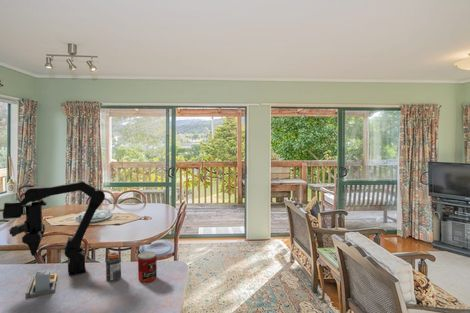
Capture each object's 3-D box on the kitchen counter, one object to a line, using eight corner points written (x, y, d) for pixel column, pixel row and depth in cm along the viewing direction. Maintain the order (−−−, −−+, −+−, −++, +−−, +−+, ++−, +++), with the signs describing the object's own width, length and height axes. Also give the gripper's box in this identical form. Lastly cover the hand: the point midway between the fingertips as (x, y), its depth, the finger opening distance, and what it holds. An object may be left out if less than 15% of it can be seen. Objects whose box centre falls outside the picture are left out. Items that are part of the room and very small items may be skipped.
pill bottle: (106, 277, 127) (105, 252, 127) (120, 275, 130) (120, 250, 129) (106, 283, 122) (105, 257, 121) (121, 280, 124) (120, 254, 124)
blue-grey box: (50, 286, 119) (49, 268, 119) (49, 291, 115) (48, 272, 115) (37, 289, 117) (36, 270, 117) (35, 294, 113) (35, 275, 113)
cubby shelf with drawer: (56, 276, 129) (56, 272, 129) (53, 292, 114) (53, 287, 114) (31, 280, 124) (31, 276, 124) (25, 298, 110) (25, 293, 110)
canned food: (142, 285, 120) (142, 259, 120) (135, 278, 126) (135, 253, 126) (159, 279, 125) (159, 254, 125) (151, 273, 131) (151, 249, 131)
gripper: (15, 213, 129) (16, 248, 130) (5, 223, 113) (6, 263, 113) (44, 211, 134) (45, 244, 135) (39, 220, 118) (40, 258, 119)
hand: (35, 251), depth 125 cm, fingers open, 9 cm apart
